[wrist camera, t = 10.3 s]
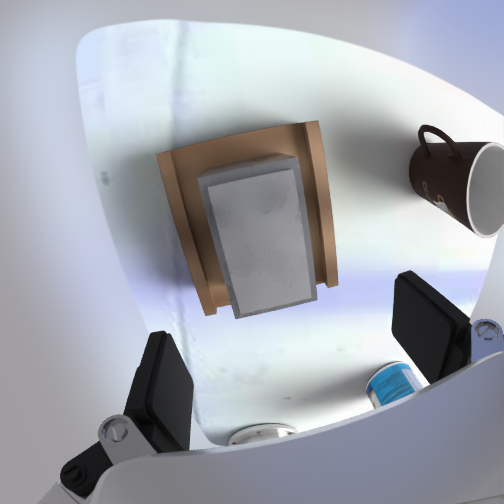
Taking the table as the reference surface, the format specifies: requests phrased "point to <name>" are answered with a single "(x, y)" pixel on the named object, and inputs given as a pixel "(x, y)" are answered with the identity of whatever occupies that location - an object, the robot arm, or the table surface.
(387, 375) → the beverage bottle
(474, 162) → the coffee mug
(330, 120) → the table surface
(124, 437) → the robot arm
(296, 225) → the block
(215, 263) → the stand
